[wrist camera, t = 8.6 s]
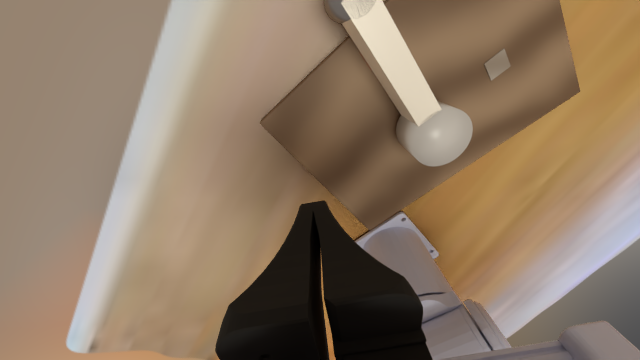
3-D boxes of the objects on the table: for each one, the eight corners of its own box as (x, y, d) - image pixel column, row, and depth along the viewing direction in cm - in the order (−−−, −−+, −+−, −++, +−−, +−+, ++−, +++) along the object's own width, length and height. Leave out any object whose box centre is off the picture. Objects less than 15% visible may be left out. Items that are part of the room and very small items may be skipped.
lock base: (566, 89, 21) (583, 92, 20) (366, 223, 27) (370, 232, 26) (512, -121, 14) (533, -137, 13) (261, 119, 20) (259, 124, 19)
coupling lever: (456, 128, 20) (481, 141, 17) (411, 159, 21) (428, 176, 19) (360, -52, 14) (375, -75, 11) (304, 6, 15) (306, -2, 12)
